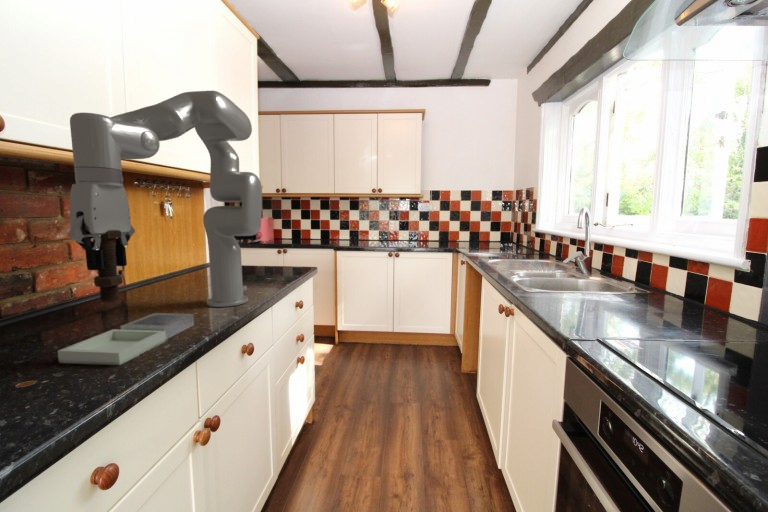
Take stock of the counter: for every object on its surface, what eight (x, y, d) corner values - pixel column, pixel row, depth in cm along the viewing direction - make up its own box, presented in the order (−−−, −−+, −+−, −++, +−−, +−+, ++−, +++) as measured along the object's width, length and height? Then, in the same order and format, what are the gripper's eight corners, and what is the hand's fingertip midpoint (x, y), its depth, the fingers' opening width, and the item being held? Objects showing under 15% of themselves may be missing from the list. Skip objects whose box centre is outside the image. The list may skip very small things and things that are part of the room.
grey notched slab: (155, 323, 95) (154, 313, 95) (194, 325, 94) (193, 314, 94) (121, 338, 84) (120, 326, 84) (165, 339, 83) (164, 327, 83)
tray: (114, 339, 83) (113, 329, 83) (166, 341, 82) (165, 330, 82) (58, 362, 70) (57, 350, 70) (119, 365, 69) (118, 352, 69)
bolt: (106, 305, 71) (100, 230, 70) (86, 304, 72) (79, 230, 71) (132, 299, 77) (127, 229, 75) (113, 298, 78) (107, 229, 76)
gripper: (117, 182, 81) (124, 262, 83) (38, 174, 64) (49, 274, 66) (148, 182, 80) (154, 262, 82) (77, 173, 63) (87, 274, 65)
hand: (107, 266), depth 74 cm, fingers closed on bolt, 4 cm apart
